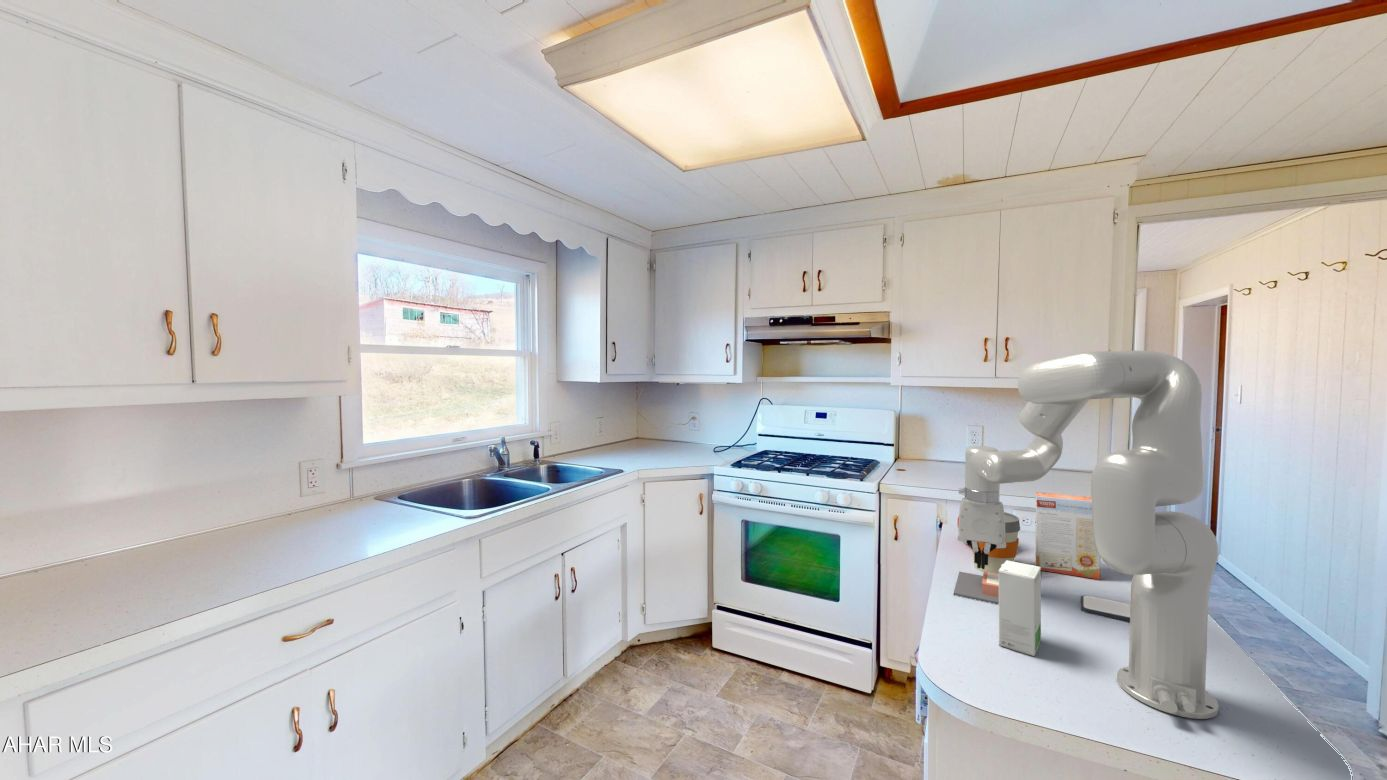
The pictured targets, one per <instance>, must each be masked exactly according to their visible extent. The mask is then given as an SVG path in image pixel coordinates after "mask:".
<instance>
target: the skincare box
mask: <svg viewBox="0 0 1387 780" xmlns="http://www.w3.org/2000/svg"><path fill="white" fill-rule="evenodd" d="M1001 566H1002V567H1001V568H1000V569H999V605H998V646H1000V647H1003V648H1006V649H1008V650H1009V649H1010V650H1013V651H1016V652H1019V653H1022V654H1025V655H1028V656H1033V657H1035V656H1036V654H1037V651H1038V649H1039V647H1040V643H1041V641H1042V628H1041V627H1042V612H1041V610H1042V601H1041V599H1042V595H1041V594H1042V592H1041V591H1042V590H1041V589H1042V587H1041V584H1042V583H1041V574H1042V573H1041V571H1042V570H1041V567H1038V566H1036V565H1033V564H1027V563H1021V562H1016V561H1014V560H1013V561H1008V560H1006V562H1005V563H1004V564H1002V565H1001Z"/></svg>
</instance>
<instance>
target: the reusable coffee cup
mask: <svg viewBox="0 0 1387 780" xmlns="http://www.w3.org/2000/svg"><path fill="white" fill-rule="evenodd" d="M1004 515H1005V541H1006V548H995V549H994V550H992V551H991V552H989V554H988V565H985V569H982V568H977V563H974V562H973V563H974V564H973V565H974V568H975V569H976V568H977V570H978V571H980V572H983V573H984V571H989V572H995V573H999V569H1000V568H1001V567H1002V566H1001V565H1002V564H1004V563H1005V562H1006V560H1008V561H1013V562H1014V558H1015V557H1016V556H1017V552H1018V548H1019V547H1018V546H1019V541H1020V539H1019V537H1018V535H1019V532H1020V531H1021V525H1020V523H1021V522H1020V518H1019V517H1018V516H1017V515H1015V514H1012V513H1009V512H1006V511H1004ZM978 543H979V547H980V550H981V553H982V550H983V548H984V547H985V543H983V542H978ZM969 547H970V546H969ZM970 550H971V552H972V558H973V559H972V560H974V551H973V549H972V548H971V547H970Z"/></svg>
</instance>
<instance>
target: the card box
mask: <svg viewBox="0 0 1387 780" xmlns="http://www.w3.org/2000/svg"><path fill="white" fill-rule="evenodd" d="M982 576H983V580H982V594H985V595H990V596H995V597H999V573H995V572H989V571H984V572H983V574H982Z"/></svg>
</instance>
